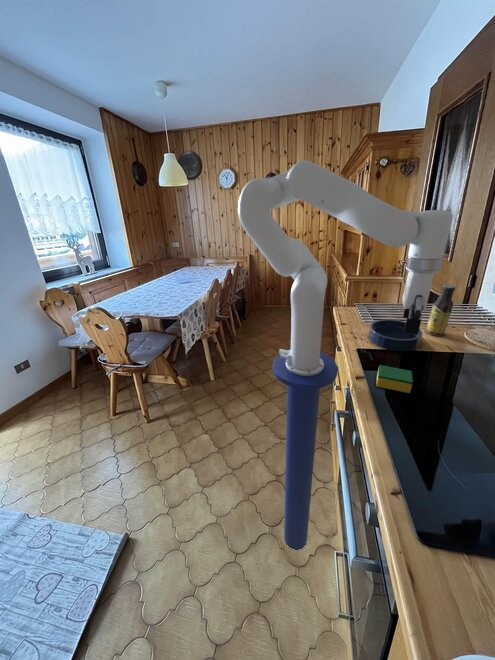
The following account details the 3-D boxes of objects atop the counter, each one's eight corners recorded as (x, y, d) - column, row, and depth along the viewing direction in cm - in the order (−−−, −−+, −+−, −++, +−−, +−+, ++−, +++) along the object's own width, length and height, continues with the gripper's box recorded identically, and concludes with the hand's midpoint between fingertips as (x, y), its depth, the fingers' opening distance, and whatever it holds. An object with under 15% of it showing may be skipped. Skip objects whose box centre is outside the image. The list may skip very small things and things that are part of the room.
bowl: (366, 347, 105) (368, 335, 103) (370, 327, 120) (371, 317, 117) (420, 356, 98) (424, 343, 96) (417, 334, 113) (420, 323, 110)
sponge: (376, 386, 85) (378, 375, 83) (377, 375, 90) (379, 364, 88) (409, 393, 81) (412, 382, 80) (409, 381, 86) (411, 370, 85)
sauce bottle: (423, 329, 116) (435, 282, 107) (440, 330, 115) (454, 282, 106) (429, 336, 110) (442, 288, 102) (446, 337, 109) (462, 288, 100)
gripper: (405, 255, 79) (394, 312, 87) (408, 271, 65) (395, 337, 73) (436, 256, 76) (422, 314, 84) (446, 273, 62) (429, 341, 70)
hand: (410, 325), depth 78 cm, fingers open, 9 cm apart
